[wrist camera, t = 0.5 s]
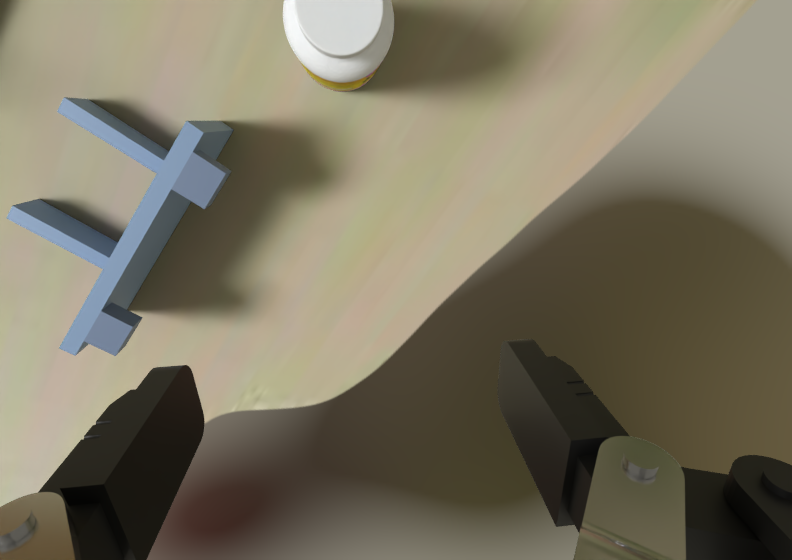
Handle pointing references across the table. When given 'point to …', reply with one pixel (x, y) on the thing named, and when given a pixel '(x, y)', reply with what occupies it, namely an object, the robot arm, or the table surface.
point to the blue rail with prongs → (149, 227)
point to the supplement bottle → (339, 39)
